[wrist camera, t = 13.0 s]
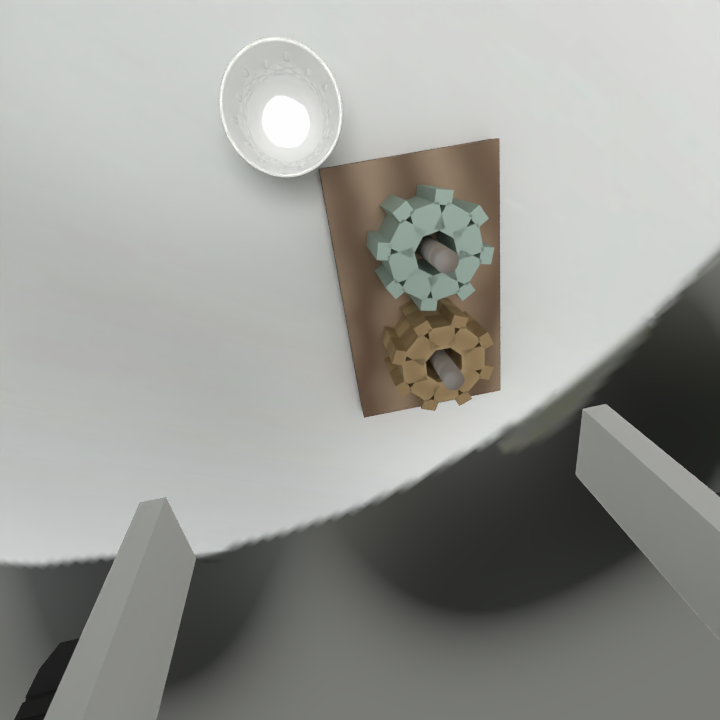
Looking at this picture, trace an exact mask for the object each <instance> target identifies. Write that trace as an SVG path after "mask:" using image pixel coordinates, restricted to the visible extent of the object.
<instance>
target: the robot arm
mask: <svg viewBox="0 0 720 720" xmlns="http://www.w3.org/2000/svg"><path fill="white" fill-rule="evenodd" d="M576 476H577V477H578V478H579V479H580V480H581V482H582V483H583V484H584V485H585V486H586V487H587V488H588V490H589V491H590V492H591V493H592V494H593V495H594V497H595V498H596V499H597V500H598V501H599V502H600V503H601V505H602V506H603V507H604V508H605V509H606V510H607V512H608V513H609V514H610V515H611V516H612V517H613V518H614V520H615V521H616V522H617V523H618V524H619V525H620V527H621V528H622V529H623V530H624V531H625V532H626V534H627V535H628V536H629V537H630V538H631V539H632V540H633V542H634V543H635V544H636V545H637V546H638V547H639V549H640V550H641V551H642V552H643V553H644V554H645V555H646V556H647V558H648V559H649V560H650V561H651V562H652V564H653V565H654V566H655V567H656V568H657V569H658V570H659V572H660V573H661V574H662V575H663V576H664V577H665V579H666V580H667V581H668V582H669V583H670V584H671V585H672V587H673V588H674V589H675V590H676V591H677V592H678V593H679V595H680V596H681V597H682V598H683V599H684V601H685V602H686V603H687V604H688V605H689V606H690V608H691V609H692V610H693V611H694V612H695V613H696V614H697V616H698V617H699V618H700V619H701V620H702V621H703V622H704V624H705V625H706V626H707V627H708V628H709V629H710V631H711V632H712V633H713V634H714V635H715V636H716V638H717V639H718V640H719V641H720V492H719V493H714V492H713V491H712V490H711V489H709V488H708V487H707V486H706V485H704V484H703V483H702V482H701V481H699V480H698V479H697V478H696V477H695V476H693V475H692V474H691V473H690V472H688V471H687V470H686V469H685V468H683V467H682V466H681V465H680V464H678V463H677V462H676V461H675V460H674V459H672V458H671V457H670V456H669V455H667V454H666V453H665V452H664V451H663V450H661V449H660V448H659V447H658V446H656V445H655V444H654V443H653V442H652V441H650V440H649V439H648V438H647V437H646V436H644V435H643V434H642V433H641V432H639V431H638V430H637V429H636V428H635V427H633V426H632V425H631V424H629V423H628V422H627V421H626V420H625V419H623V418H622V417H621V416H620V415H619V414H617V413H616V412H615V411H613V410H612V409H611V408H610V407H609V406H607V405H606V404H604V405H600V406H595V407H590V408H586V409H583V412H582V421H581V430H580V439H579V449H578V457H577V467H576ZM195 560H196V557H195V555H194V553H193V551H192V549H191V547H190V545H189V543H188V541H187V539H186V537H185V535H184V533H183V531H182V529H181V527H180V525H179V523H178V521H177V519H176V517H175V515H174V513H173V511H172V509H171V507H170V505H169V503H168V501H167V499H166V497H165V498H160V499H155V500H150V501H146V502H141V503H140V504H139V506H138V508H137V511H136V513H135V515H134V517H133V520H132V522H131V524H130V526H129V529H128V531H127V533H126V535H125V538H124V540H123V542H122V544H121V547H120V549H119V551H118V553H117V556H116V558H115V560H114V563H113V565H112V567H111V569H110V572H109V574H108V576H107V578H106V580H105V583H104V585H103V587H102V589H101V592H100V595H99V596H98V599H97V601H96V603H95V605H94V608H93V610H92V612H91V615H90V617H89V619H88V621H87V624H86V626H85V628H84V630H83V632H82V635H81V637H80V638H79V639H75V640H70V641H66V642H62V643H60V644H59V645H58V646H57V648H56V649H55V650H54V651H53V653H52V654H51V655H50V657H49V658H48V659H47V660H46V661H45V663H44V664H43V665H42V666H41V668H40V669H39V671H38V673H37V675H36V677H35V679H34V681H33V683H32V685H31V687H30V689H29V691H28V693H27V695H26V701H25V702H23V703H22V705H21V707H20V709H19V711H18V713H17V715H16V717H15V719H14V720H156V718H157V715H158V711H159V707H160V703H161V698H162V694H163V690H164V686H165V682H166V678H167V674H168V670H169V666H170V661H171V658H172V654H173V650H174V646H175V641H176V637H177V633H178V629H179V625H180V621H181V617H182V613H183V608H184V605H185V601H186V597H187V593H188V588H189V584H190V580H191V576H192V572H193V568H194V564H195Z"/></svg>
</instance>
